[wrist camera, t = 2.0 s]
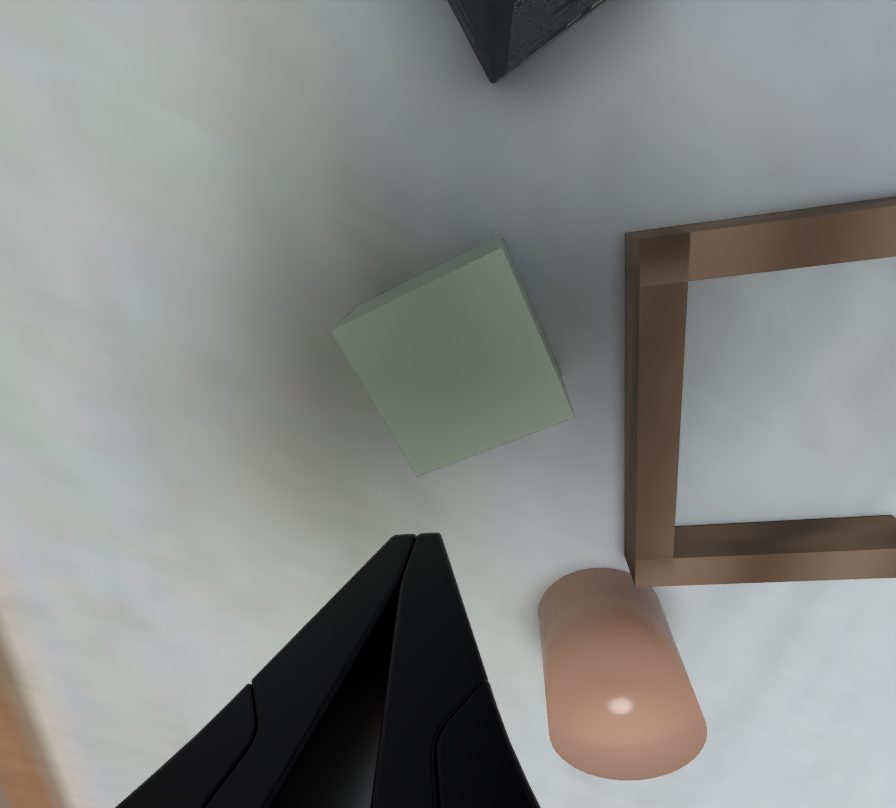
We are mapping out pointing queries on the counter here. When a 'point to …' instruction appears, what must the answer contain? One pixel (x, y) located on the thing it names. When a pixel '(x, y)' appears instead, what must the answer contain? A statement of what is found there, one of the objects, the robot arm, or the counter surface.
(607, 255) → the counter surface
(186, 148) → the counter surface
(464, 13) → the box
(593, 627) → the tan round cylinder
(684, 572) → the walnut bay
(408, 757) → the robot arm
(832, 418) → the counter surface
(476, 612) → the counter surface
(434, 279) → the matte sage squarish block
